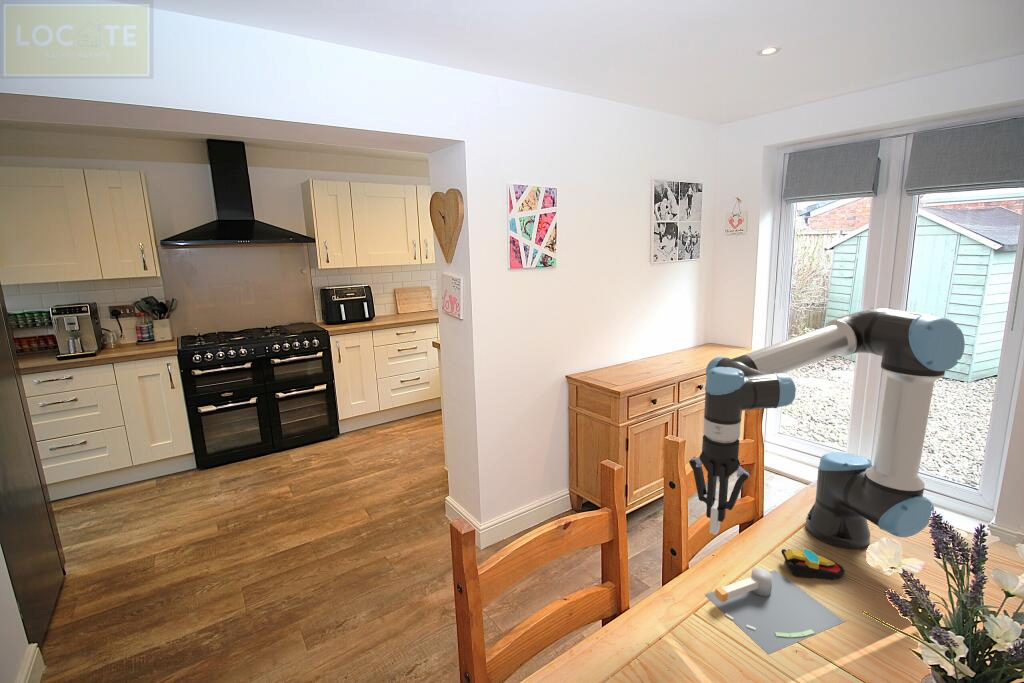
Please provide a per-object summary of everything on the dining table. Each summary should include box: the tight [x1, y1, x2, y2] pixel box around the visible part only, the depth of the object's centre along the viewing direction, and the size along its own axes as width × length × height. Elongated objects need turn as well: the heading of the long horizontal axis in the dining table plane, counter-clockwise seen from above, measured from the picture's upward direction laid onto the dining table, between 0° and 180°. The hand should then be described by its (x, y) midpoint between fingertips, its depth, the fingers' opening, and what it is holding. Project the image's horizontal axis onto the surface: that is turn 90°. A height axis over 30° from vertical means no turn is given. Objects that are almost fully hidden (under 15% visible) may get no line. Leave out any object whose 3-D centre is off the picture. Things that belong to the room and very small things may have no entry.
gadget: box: [780, 547, 845, 581], centre depth 121 cm, size 6×13×6 cm, turn 77°
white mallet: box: [714, 567, 773, 602], centre depth 113 cm, size 15×4×4 cm, turn 110°
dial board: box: [704, 569, 846, 655], centre depth 110 cm, size 22×18×1 cm
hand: (714, 531), depth 113 cm, fingers closed
